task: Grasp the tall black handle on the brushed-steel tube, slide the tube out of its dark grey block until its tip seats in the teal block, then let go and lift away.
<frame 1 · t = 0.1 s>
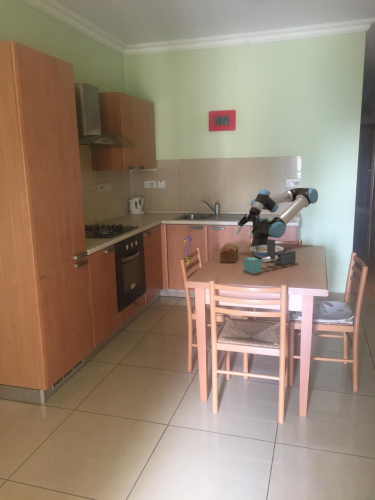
hand: (242, 235, 274), 15 cm above the table, tool tilted 35°, fingers open, 13 cm apart
ramen bowl: (266, 259, 270), on the table
bread: (229, 260, 271), on the table
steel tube: (277, 249, 246), point 11 cm above the table, slide at 0.0 cm
walnut board: (277, 266, 248), on the table
teal block: (252, 264, 236), on the walnut board, point 5 cm above the table
dark grey block: (284, 257, 250), on the walnut board, point 5 cm above the table
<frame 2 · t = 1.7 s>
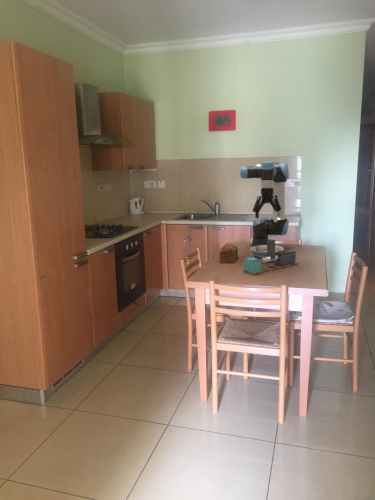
hand: (266, 222, 241), 29 cm above the table, tool pointing down, fingers open, 13 cm apart
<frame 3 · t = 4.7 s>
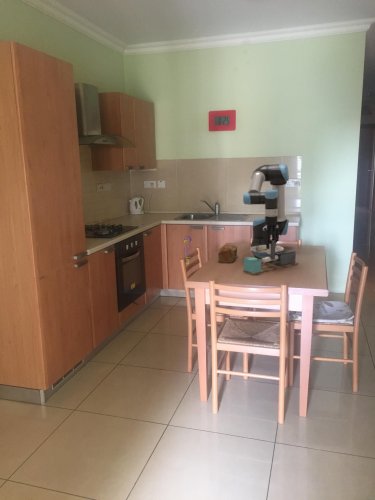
hand: (271, 253, 243), 10 cm above the table, tool pointing down, fingers closed on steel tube, 3 cm apart
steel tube: (277, 249, 246), point 11 cm above the table, slide at 0.0 cm, touching gripper
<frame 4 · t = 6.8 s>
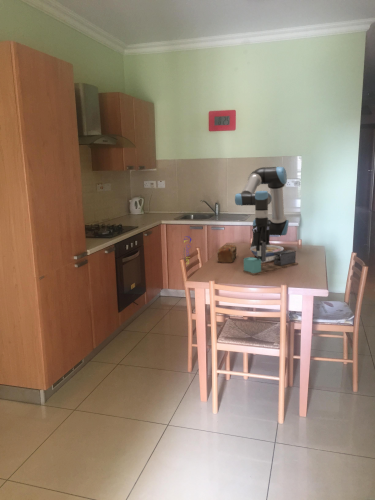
hand: (261, 255, 239), 10 cm above the table, tool pointing down, fingers closed on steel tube, 3 cm apart
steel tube: (267, 251, 242), point 11 cm above the table, slide at 7.9 cm, touching gripper
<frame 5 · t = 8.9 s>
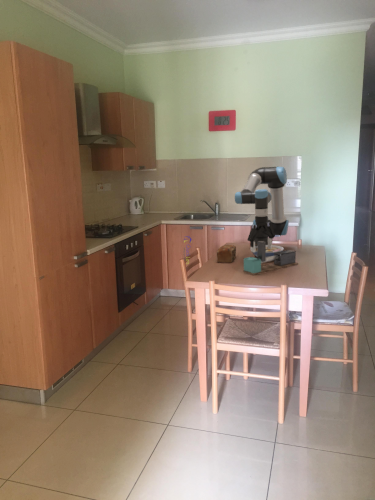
hand: (261, 250, 239), 13 cm above the table, tool pointing down, fingers open, 13 cm apart
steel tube: (267, 251, 242), point 11 cm above the table, slide at 8.0 cm
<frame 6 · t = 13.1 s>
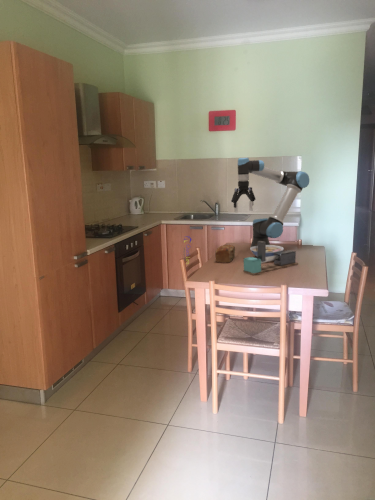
hand: (243, 211, 276), 32 cm above the table, tool pointing down, fingers open, 13 cm apart
at the end: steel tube slide at 8.0 cm; the gripper is holding nothing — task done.
